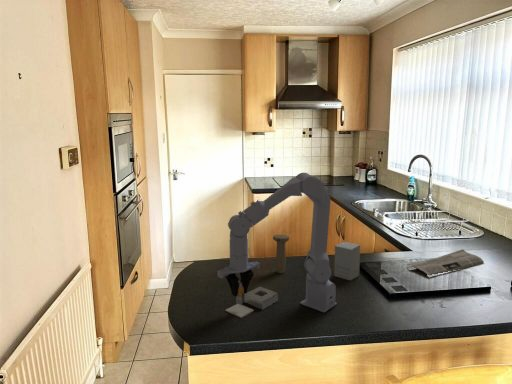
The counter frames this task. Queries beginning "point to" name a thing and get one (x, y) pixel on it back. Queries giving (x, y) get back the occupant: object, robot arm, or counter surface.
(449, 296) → the counter surface
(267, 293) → the block
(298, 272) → the counter surface
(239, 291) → the amber medicine bottle
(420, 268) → the newspaper
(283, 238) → the handle
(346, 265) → the supplement box
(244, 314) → the mat
